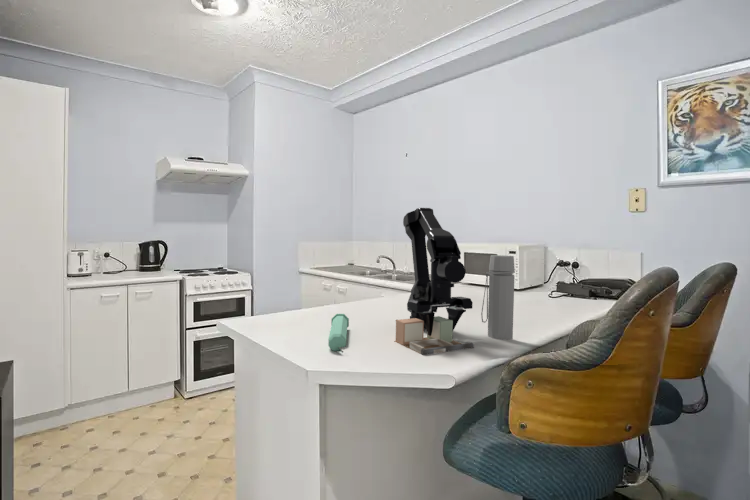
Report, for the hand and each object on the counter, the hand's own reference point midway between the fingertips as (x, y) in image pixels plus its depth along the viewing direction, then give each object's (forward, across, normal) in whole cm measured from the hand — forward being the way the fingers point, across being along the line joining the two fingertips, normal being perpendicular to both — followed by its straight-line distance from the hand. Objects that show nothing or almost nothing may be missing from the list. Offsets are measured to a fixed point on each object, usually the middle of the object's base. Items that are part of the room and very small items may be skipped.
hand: (439, 334), depth 118 cm
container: (+3, +24, -16) cm, 29 cm away
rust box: (+2, +9, -2) cm, 9 cm away
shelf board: (+3, +4, +3) cm, 6 cm away
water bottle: (+3, -19, +3) cm, 19 cm away
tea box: (+2, 0, 0) cm, 2 cm away
